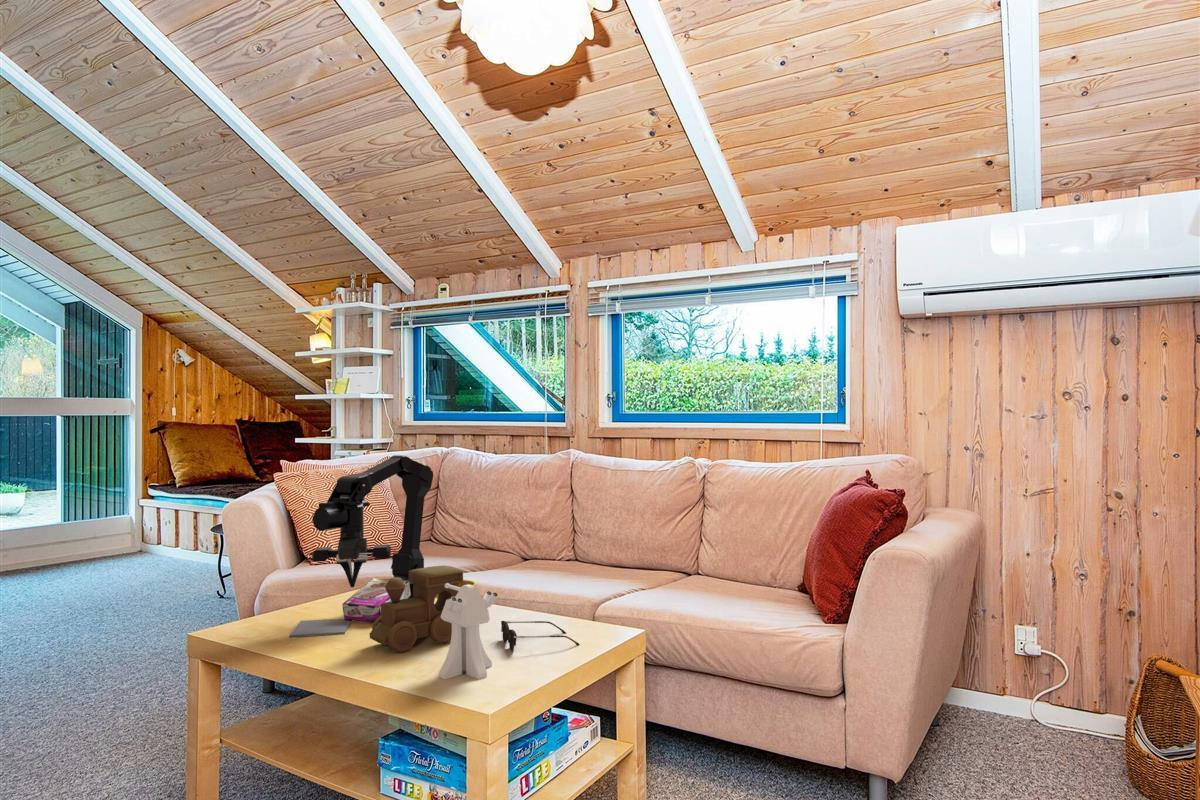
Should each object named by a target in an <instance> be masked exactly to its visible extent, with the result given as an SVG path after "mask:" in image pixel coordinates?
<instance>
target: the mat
mask: <svg viewBox="0 0 1200 800" xmlns="http://www.w3.org/2000/svg"><path fill="white" fill-rule="evenodd" d="M352 622H353V621H349V620H344V617H342V618H327V619H326V618H325V619H323V618H322V619H307V620H306V619H305V620H300V621H299V622H298V623H297V625H296V626H295V627H294V629H293V630H292V631H291V632H290V633H289V634H288V636H289V638H301V637H302V638H303V637H314V636H315V637H317V636H333V635H345V634H346V633H347V631H348V629H349V627H350V625H351V623H352Z"/></svg>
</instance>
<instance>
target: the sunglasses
mask: <svg viewBox="0 0 1200 800" xmlns="http://www.w3.org/2000/svg"><path fill="white" fill-rule="evenodd" d="M500 624H501V627H500V628H501V630H500V632H501V633H502V641H503V642H504V644H506V645H507V644H508V646H509V649H510V651H511V652H512V653H514V651H515V647H516V646H517V639H525V638H530V639H531V638H537V639H539V638H566V639H567V640H570V641H571V642H573V643H574V644H575V645H576V646H578V647H579V646H580V645H581V644H580V643H579V642H577V641H576V640H574V639H573V638H571V637H569V636H567V635H561V634H560V635H517V633H516V630H515V629H510V627H509V624H550V625H552V626H553V627H555V628H557V629H558V630H559V631H560V632H561V633H562V634H567V632H566V630H564V629H562V628H561V627H559V626H558V625H556V624H555V623H553V622H551V621H543V620H541V621H539V620H538V621H537V620H536V621H535V620H534V621H526V620H525V621H511V620H510V621H509V620H501V621H500Z"/></svg>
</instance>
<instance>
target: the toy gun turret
mask: <svg viewBox="0 0 1200 800" xmlns="http://www.w3.org/2000/svg"><path fill="white" fill-rule="evenodd" d="M445 587H446V588H450V589H454V590H457V591H459V592H458V593H457V595H456V596H455V597H451V599H448V600H446V602H445V606H444V608H443V611H442V614H441V617H440V618H442V619H443V620H444V621H446V622H449V623H452V636H451V640H450V644H449V647H448V651H447V654H446V658H445V660H444V662H443V663H442V666H441V667H440V669H439V671H438V678H440V679H442V680H446V679H451V678H454V677H457V676H460V675H465V676H466V675H467V676H470V677H472V678H474V679H477V680H481V679H484V678H488V671H487V668H490V667H493V661H492V659H491V657H490V656H489V654H488V653H487V652H486V650H485V647H484V644H483V642H482V639H481V632H480V631H481V630H480V625H482V624H486V623H489V621H490V620H491V619H492V618H491V614H490V612H489V609H488V608H490V607H492V606H493V605H494V603H495V602H496V600H497V598H498V596H499V594H498V593H497V592H496V591H493V592H492V591H490V590H487V591H486V592H485V594H484V595H483V597H482V596H481V594H480V593H479V589H478V588H477V586H476V587H475V586H473V585H469V584H468V585H463V586H462V587H456V586H453V585H450V584H449V583H446V584H445Z"/></svg>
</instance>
